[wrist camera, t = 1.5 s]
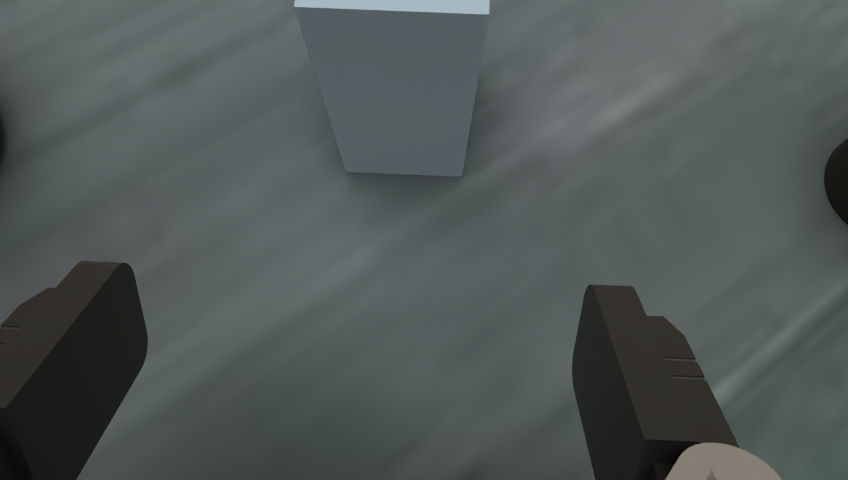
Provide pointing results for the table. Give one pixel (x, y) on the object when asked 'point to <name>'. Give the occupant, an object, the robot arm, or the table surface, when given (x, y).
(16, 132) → the table surface
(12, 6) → the table surface
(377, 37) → the slate pillar
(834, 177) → the drinking cup
